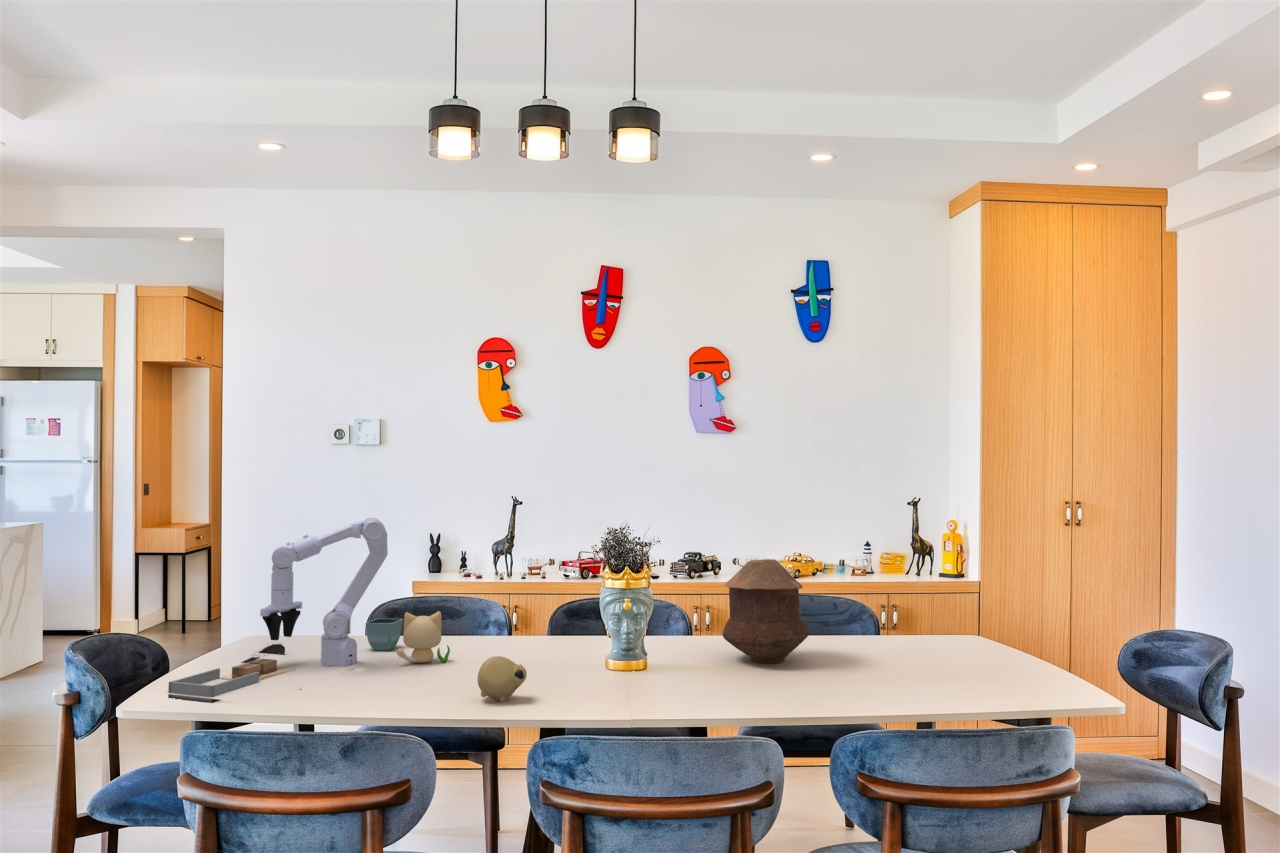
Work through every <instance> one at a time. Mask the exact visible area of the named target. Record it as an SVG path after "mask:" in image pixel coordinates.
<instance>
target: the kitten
mask: <svg viewBox="0 0 1280 853" xmlns="http://www.w3.org/2000/svg"><path fill="white" fill-rule="evenodd" d="M403 616H404V618H403V622H404V623H403V635H402V636H403V638H402V641H403V644H404V645H405V647H408V648H410V649H413V651H412V653H411V656H410V655H407V654H406V652H405V651H404V649H403V648H398V649H397V650H396V654H397V656H398V657H399V658H401V659H404V660H405V661H407V662H410V663H416V664H426V663H430V662H432V661H433V660H434V658H435V656H434V651H433V649H432V648H435V647H437V646H439V645H440V644H441V641H442V612H441V611H439V610H438V611H437V612H435V613H434V614H431V615H429V616H428V615H418V616H416V615H414V614H412V613H410V612H408V611H406V612H404V615H403ZM446 646H447V652H446V653H445V655H444V657H443V656H442V655H441V650H440V649H441V648H440V647H438V648H437V652H436V656H437V658H438V659H439V663H440V662H445V661H448V662H449V656H450V653H451V649H450V646H449V644H447V645H446ZM445 663H446V662H445Z"/></svg>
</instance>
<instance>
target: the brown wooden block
mask: <svg viewBox="0 0 1280 853" xmlns="http://www.w3.org/2000/svg"><path fill="white" fill-rule="evenodd" d="M249 664H260V665H261V675H265V674H269V673H272V672H275V671H277V668H278V665H277V664H278V660H277V659H271V658H259V659H256V660H254V661H252V662H249Z"/></svg>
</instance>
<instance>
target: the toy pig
mask: <svg viewBox="0 0 1280 853" xmlns="http://www.w3.org/2000/svg"><path fill="white" fill-rule="evenodd" d="M476 679H477V680H476V681H477V685H478V688H479V689H480V696H481V697H482V698H486V697H489V698H492V699H496V700H499V701H500V703H504V702H505V701H506V700H507V698H509V697H511V696H512V695H513V694H514V693H515V692H516V690H517V689H518V688H519V687H521V685H523V684H524V682H525V681H526V679H527V669H526V668H525V667H524V666H523V664H521V663H520V664H517V663H516V662H514V661H512V660H511V659H509V658H507V657H505V656H500V655H496V656H491V657H488V658H487V659H485V661H484V662H482V664H481V666H480V667H479V669H478V673H477V678H476Z"/></svg>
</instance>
